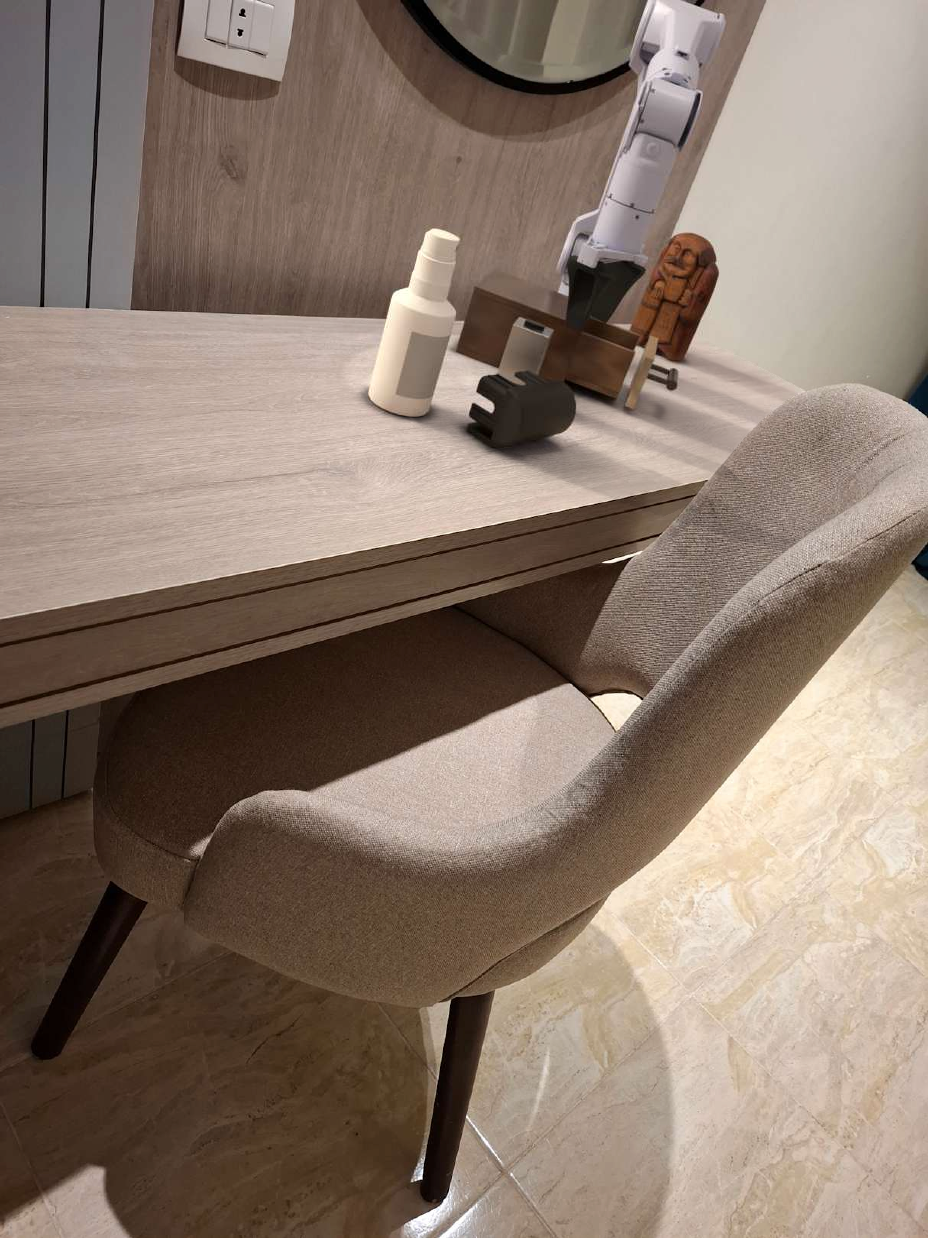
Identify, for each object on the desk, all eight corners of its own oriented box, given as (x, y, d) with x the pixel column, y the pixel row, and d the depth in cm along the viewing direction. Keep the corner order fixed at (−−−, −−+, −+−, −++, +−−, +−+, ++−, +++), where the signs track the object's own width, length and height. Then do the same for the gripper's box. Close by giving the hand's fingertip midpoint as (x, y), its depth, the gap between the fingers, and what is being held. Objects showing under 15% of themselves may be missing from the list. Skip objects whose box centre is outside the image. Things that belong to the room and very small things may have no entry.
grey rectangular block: (497, 382, 113) (520, 312, 108) (531, 395, 113) (555, 325, 108) (491, 391, 110) (514, 319, 105) (525, 404, 109) (550, 333, 104)
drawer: (667, 395, 126) (687, 348, 123) (663, 420, 117) (685, 371, 113) (549, 350, 127) (565, 303, 123) (535, 372, 118) (553, 322, 114)
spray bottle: (420, 424, 95) (469, 251, 85) (359, 402, 95) (402, 227, 85) (434, 404, 101) (482, 240, 91) (377, 383, 101) (418, 217, 91)
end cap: (509, 461, 94) (530, 401, 90) (461, 429, 97) (479, 370, 94) (563, 449, 101) (585, 393, 98) (517, 419, 104) (536, 364, 101)
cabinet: (572, 365, 128) (594, 305, 123) (560, 390, 117) (583, 326, 113) (476, 329, 128) (494, 268, 124) (455, 351, 118) (474, 286, 113)
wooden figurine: (614, 333, 149) (658, 220, 139) (633, 331, 154) (677, 222, 144) (673, 364, 144) (723, 249, 134) (691, 361, 149) (740, 250, 139)
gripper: (639, 218, 93) (591, 343, 101) (682, 216, 105) (637, 329, 112) (581, 193, 95) (538, 318, 103) (629, 194, 107) (588, 306, 114)
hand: (586, 322), depth 107 cm, fingers open, 7 cm apart
